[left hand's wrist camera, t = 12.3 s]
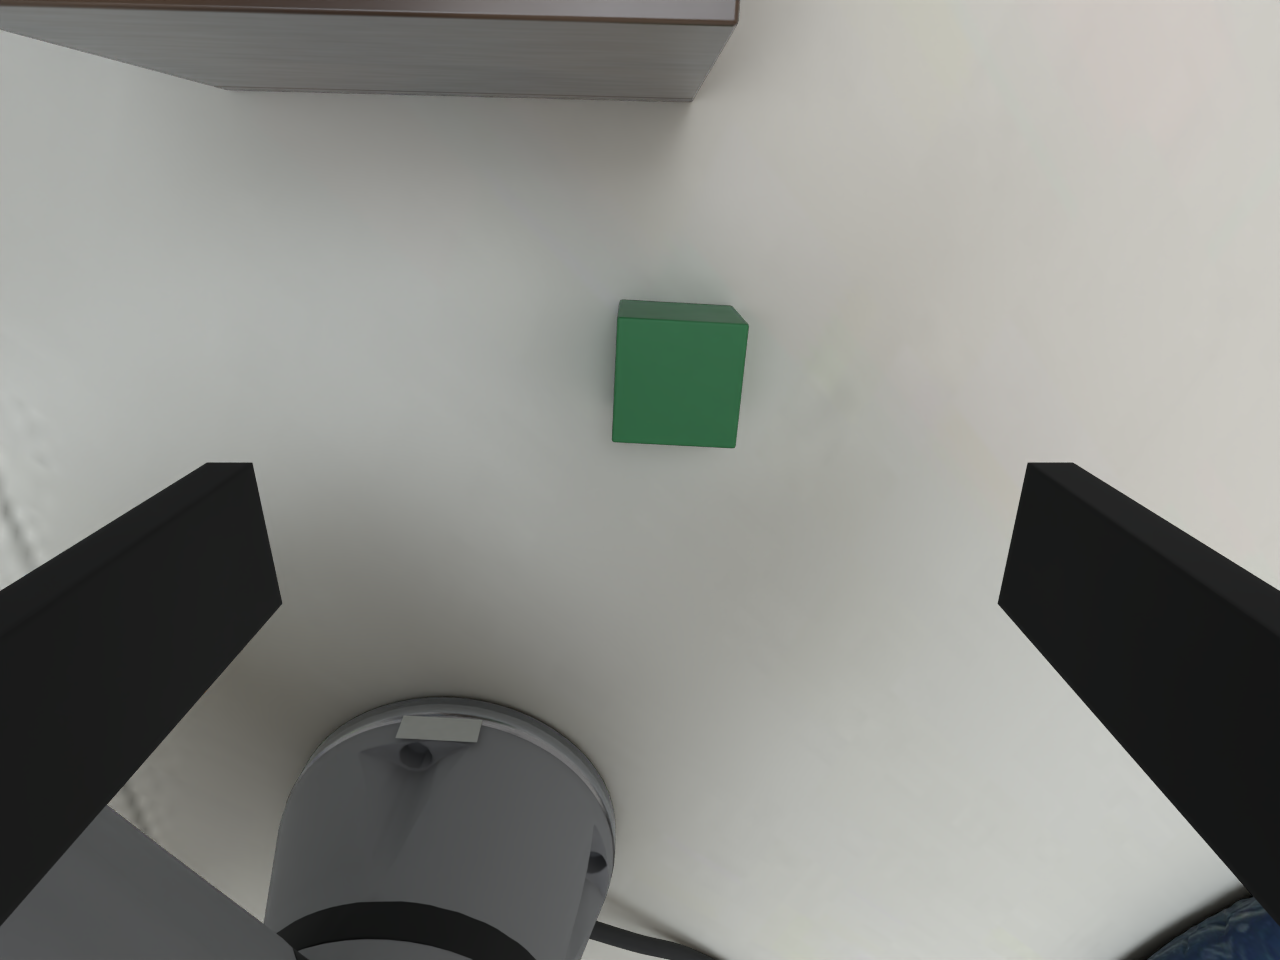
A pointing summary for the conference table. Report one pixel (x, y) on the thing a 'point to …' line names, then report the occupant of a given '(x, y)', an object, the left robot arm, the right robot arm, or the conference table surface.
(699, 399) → the block
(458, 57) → the chest
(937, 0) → the conference table surface
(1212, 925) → the fish model
